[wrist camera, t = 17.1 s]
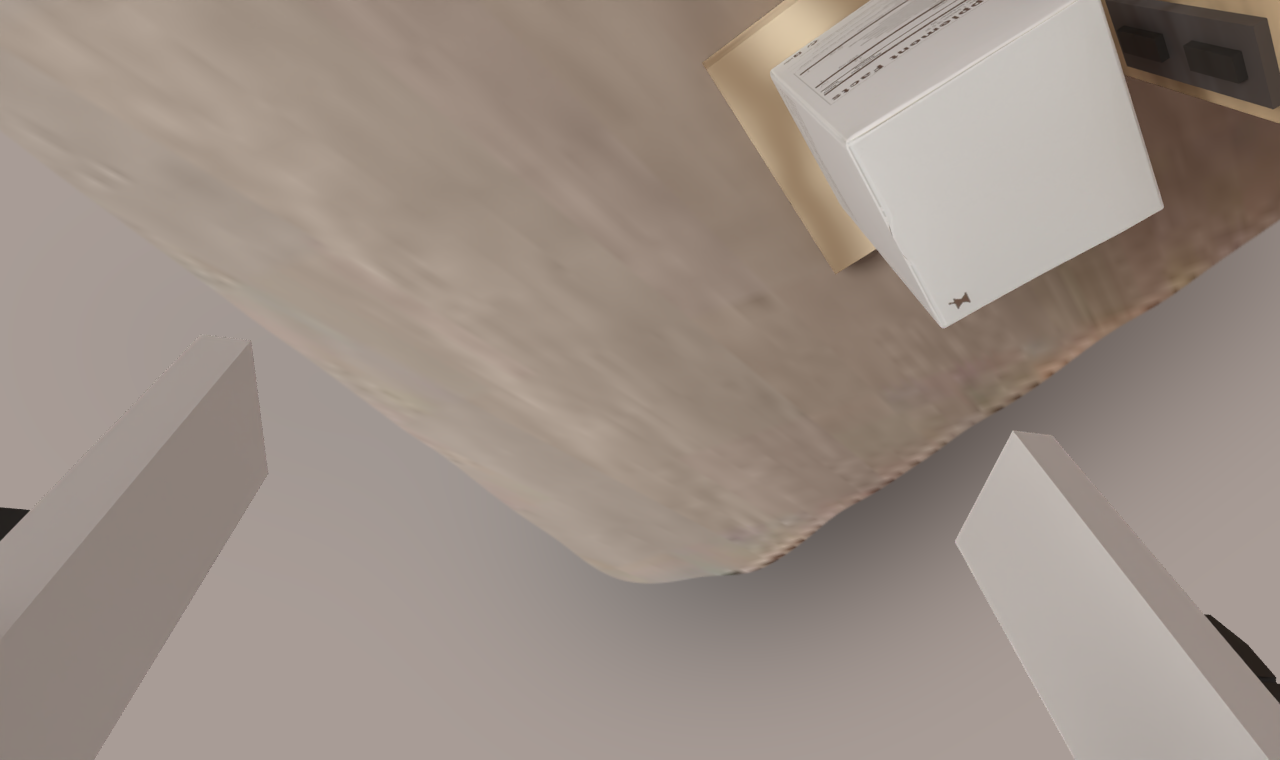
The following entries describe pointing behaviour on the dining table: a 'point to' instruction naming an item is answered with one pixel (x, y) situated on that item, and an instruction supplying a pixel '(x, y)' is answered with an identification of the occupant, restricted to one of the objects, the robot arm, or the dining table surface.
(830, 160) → the supplement box
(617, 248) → the dining table surface
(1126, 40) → the oak post
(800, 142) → the maple pad
